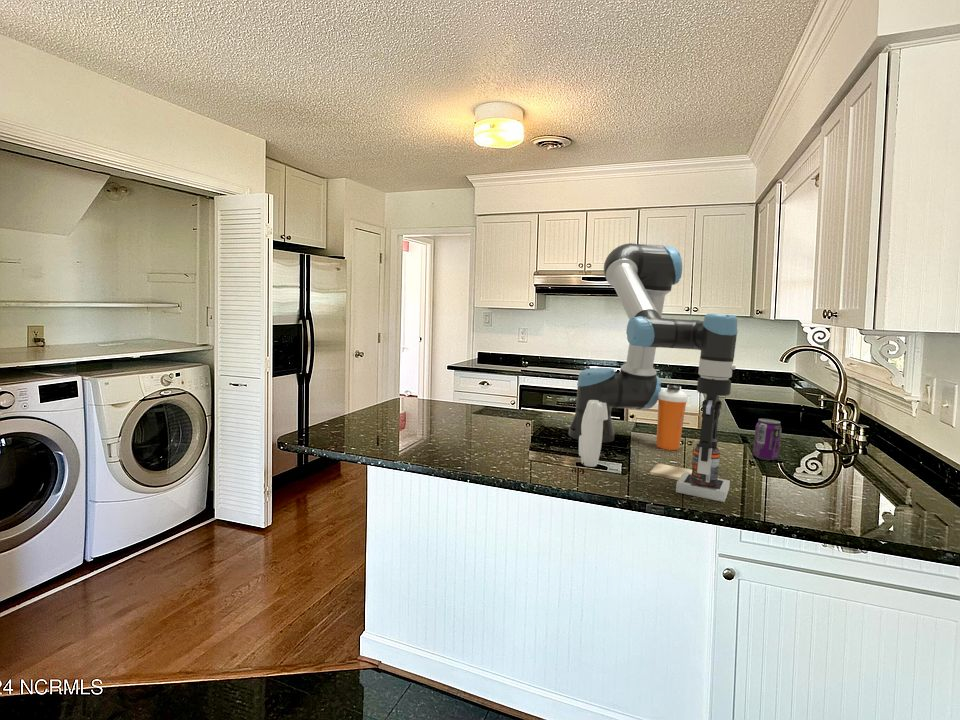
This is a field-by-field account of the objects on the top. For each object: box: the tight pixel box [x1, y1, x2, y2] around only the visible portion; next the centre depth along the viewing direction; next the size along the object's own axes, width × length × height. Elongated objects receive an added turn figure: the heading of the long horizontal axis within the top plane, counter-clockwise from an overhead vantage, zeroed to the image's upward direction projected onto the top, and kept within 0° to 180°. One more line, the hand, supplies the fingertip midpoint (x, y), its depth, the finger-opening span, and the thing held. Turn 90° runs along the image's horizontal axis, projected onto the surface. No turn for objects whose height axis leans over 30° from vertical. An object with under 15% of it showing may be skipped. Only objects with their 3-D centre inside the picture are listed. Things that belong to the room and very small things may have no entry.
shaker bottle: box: [655, 384, 688, 451], centre depth 180 cm, size 9×9×20 cm
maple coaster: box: [649, 463, 692, 481], centre depth 151 cm, size 10×10×1 cm
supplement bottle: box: [691, 438, 721, 487], centre depth 137 cm, size 6×6×11 cm
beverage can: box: [752, 418, 782, 461], centre depth 173 cm, size 7×7×12 cm
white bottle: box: [578, 400, 608, 468], centre depth 154 cm, size 7×18×7 cm
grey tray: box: [675, 472, 731, 503], centre depth 138 cm, size 11×11×2 cm
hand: (705, 470), depth 137 cm, fingers closed on supplement bottle, 6 cm apart
